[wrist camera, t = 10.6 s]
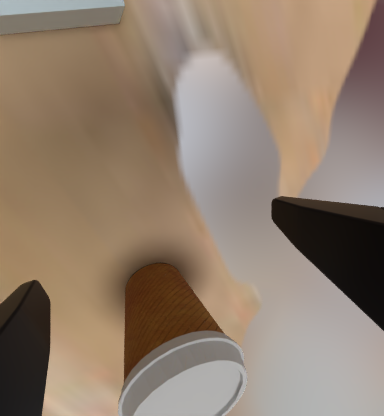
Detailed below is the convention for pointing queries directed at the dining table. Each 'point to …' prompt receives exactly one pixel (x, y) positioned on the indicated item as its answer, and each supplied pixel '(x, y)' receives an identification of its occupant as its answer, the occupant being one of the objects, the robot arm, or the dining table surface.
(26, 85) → the dining table surface
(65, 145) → the dining table surface
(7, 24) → the wall
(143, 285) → the disposable coffee cup
